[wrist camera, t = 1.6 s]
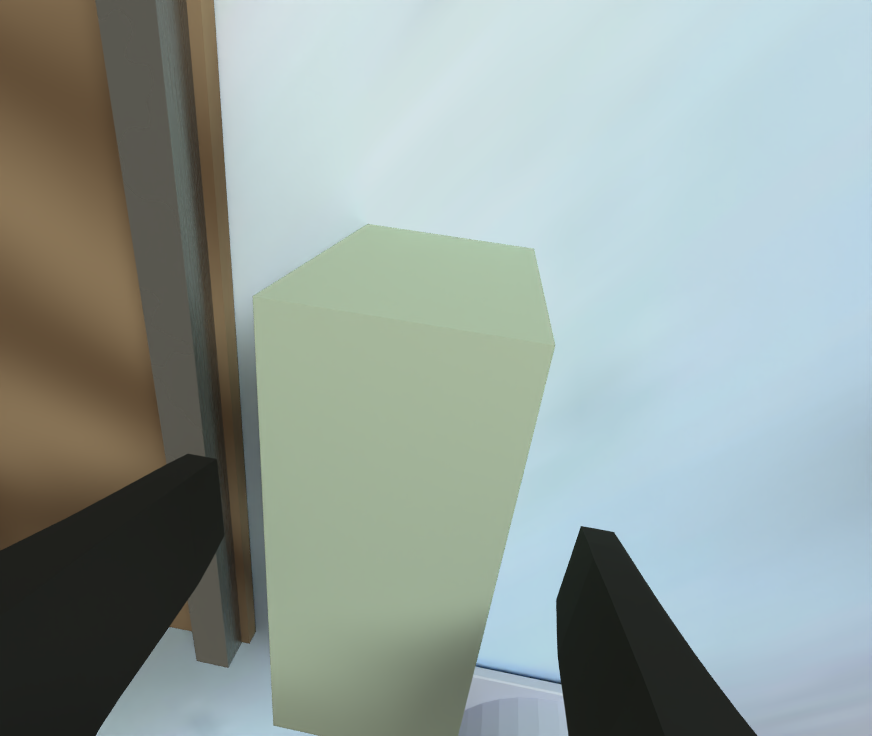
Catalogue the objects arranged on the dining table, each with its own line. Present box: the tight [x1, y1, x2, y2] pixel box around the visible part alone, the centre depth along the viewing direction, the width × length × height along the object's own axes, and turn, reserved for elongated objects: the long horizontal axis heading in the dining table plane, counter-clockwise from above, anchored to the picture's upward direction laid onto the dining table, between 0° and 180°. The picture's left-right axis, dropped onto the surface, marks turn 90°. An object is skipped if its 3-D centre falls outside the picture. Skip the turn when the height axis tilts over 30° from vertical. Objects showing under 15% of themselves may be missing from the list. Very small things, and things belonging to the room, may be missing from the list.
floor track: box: [0, 0, 256, 668], centre depth 14 cm, size 22×11×2 cm, turn 173°
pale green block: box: [253, 224, 555, 736], centre depth 11 cm, size 10×4×6 cm, turn 173°
